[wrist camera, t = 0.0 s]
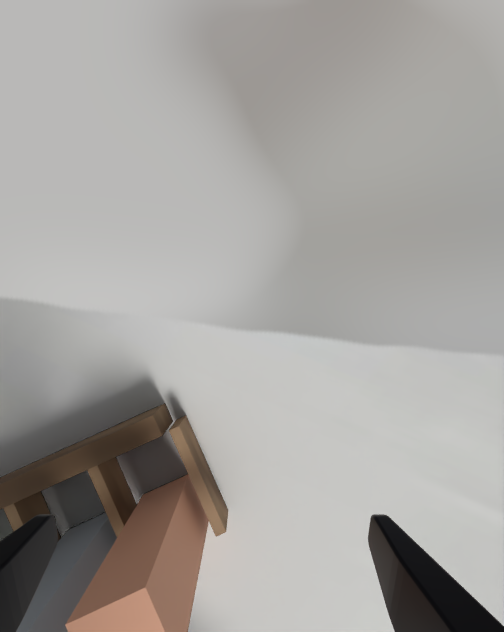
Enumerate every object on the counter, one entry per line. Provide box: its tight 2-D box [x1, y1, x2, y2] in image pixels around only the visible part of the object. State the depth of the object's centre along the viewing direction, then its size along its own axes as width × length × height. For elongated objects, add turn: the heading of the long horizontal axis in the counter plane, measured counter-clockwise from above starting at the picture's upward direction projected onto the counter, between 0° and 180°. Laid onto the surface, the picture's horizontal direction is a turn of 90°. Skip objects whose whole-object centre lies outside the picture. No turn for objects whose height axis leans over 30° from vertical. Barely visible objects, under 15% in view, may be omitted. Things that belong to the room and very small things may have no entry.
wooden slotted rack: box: [0, 403, 228, 541], centre depth 22 cm, size 10×20×3 cm, turn 114°
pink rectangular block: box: [65, 474, 209, 632], centre depth 18 cm, size 4×4×10 cm
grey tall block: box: [16, 513, 117, 632], centre depth 18 cm, size 4×4×10 cm
